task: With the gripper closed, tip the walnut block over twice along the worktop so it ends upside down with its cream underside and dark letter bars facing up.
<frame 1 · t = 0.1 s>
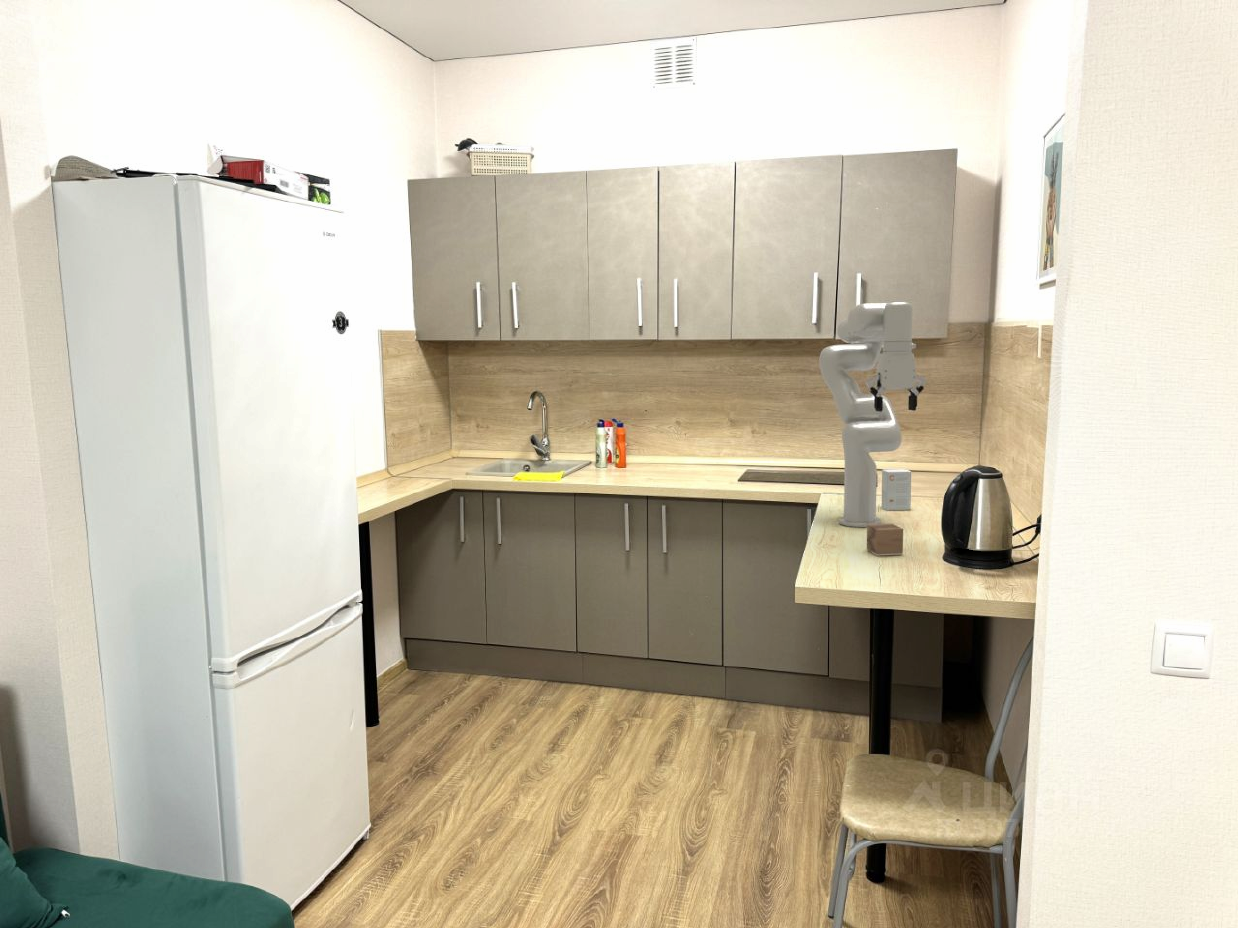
hand: (895, 410, 242), 37 cm above the worktop, tool pointing down, fingers open, 9 cm apart
walnut block: (884, 552, 234), on the worktop
small box: (895, 509, 294), on the worktop
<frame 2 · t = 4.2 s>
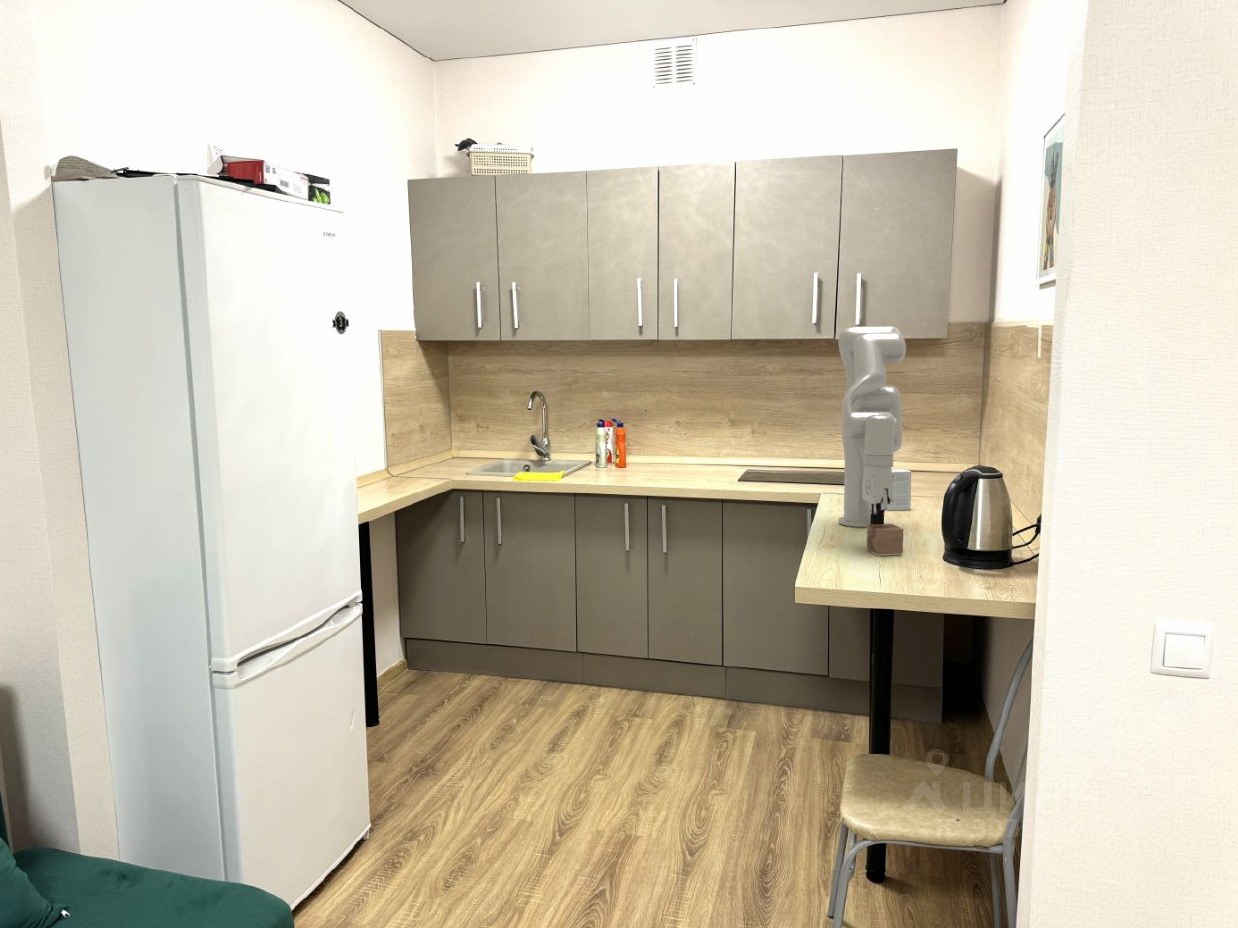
hand: (877, 527, 238), 6 cm above the worktop, tool pointing down, fingers closed
walnut block: (884, 552, 234), on the worktop, touching gripper
everything else where it was.
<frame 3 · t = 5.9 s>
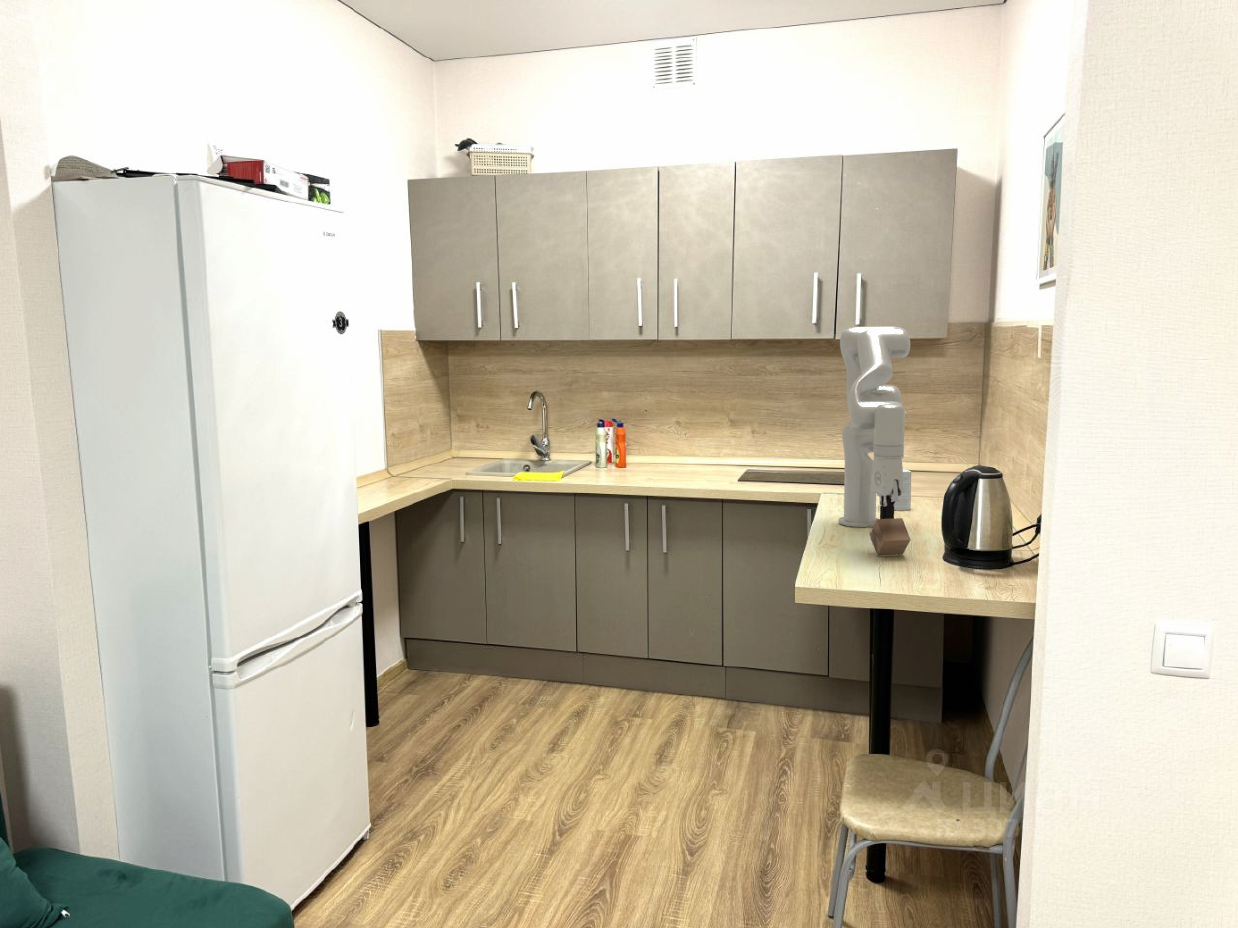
hand: (886, 520, 231), 9 cm above the worktop, tool pointing down, fingers closed
walnut block: (885, 545, 233), point 2 cm above the worktop, tilted 41°
everything else where it was.
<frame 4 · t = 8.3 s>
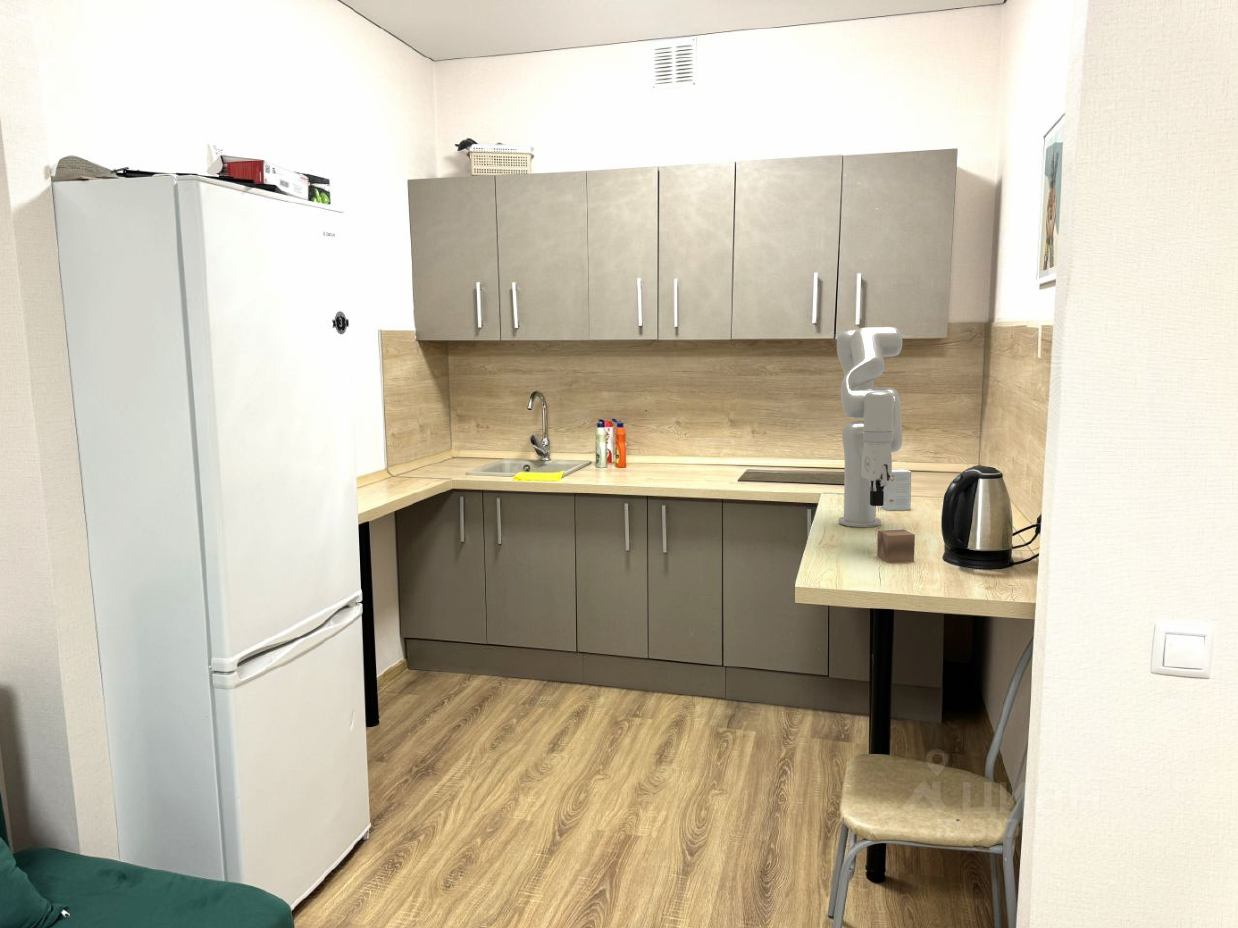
hand: (876, 505, 237), 12 cm above the worktop, tool pointing down, fingers closed
walnut block: (889, 542, 230), point 3 cm above the worktop, tilted 90°
everything else where it was.
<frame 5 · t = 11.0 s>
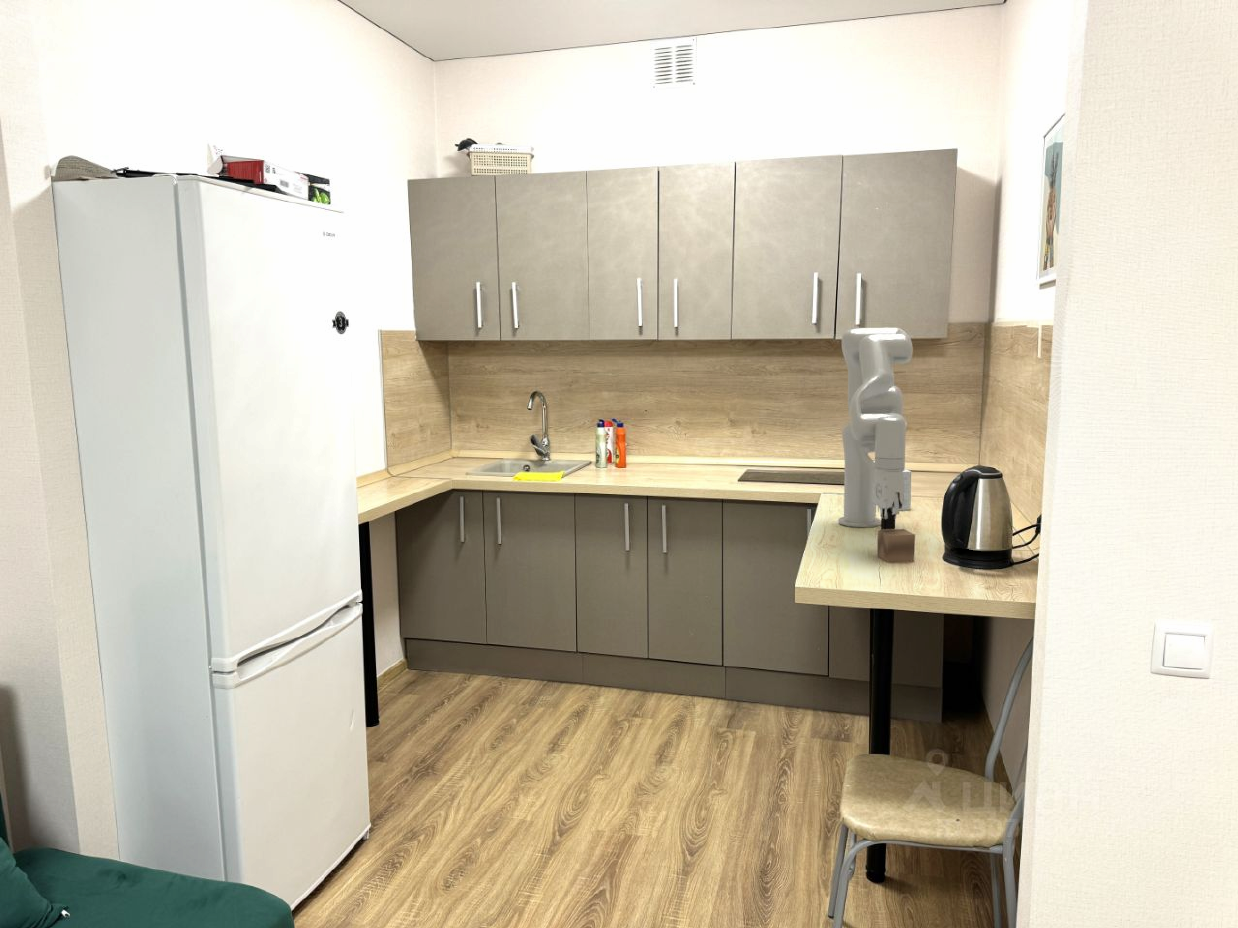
hand: (887, 533, 231), 6 cm above the worktop, tool pointing down, fingers closed
walnut block: (889, 542, 230), point 4 cm above the worktop, tilted 91°, touching gripper
everything else where it was.
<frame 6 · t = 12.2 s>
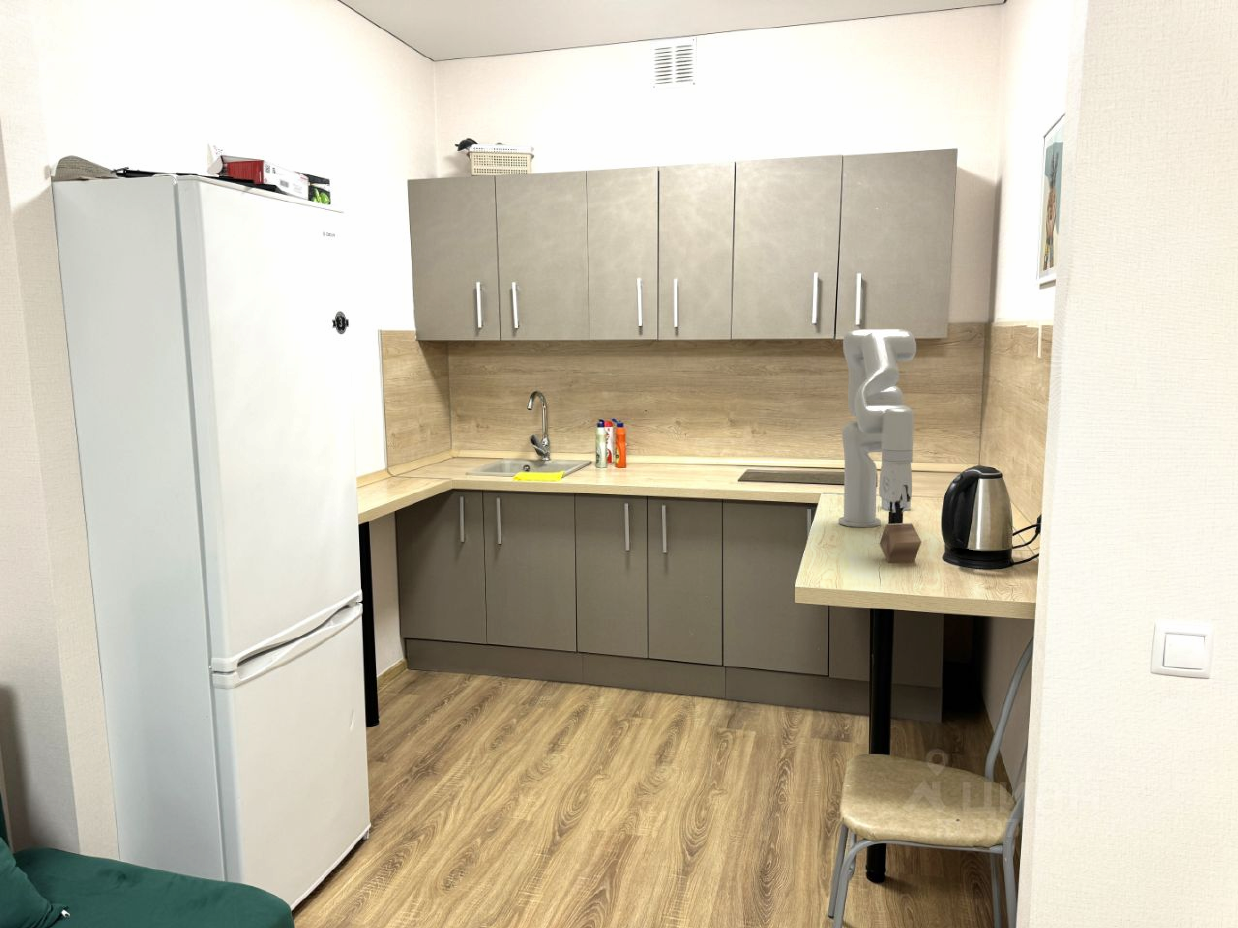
hand: (895, 527, 226), 8 cm above the worktop, tool pointing down, fingers closed
walnut block: (895, 532, 227), point 7 cm above the worktop, tilted 122°, touching gripper
everything else where it was.
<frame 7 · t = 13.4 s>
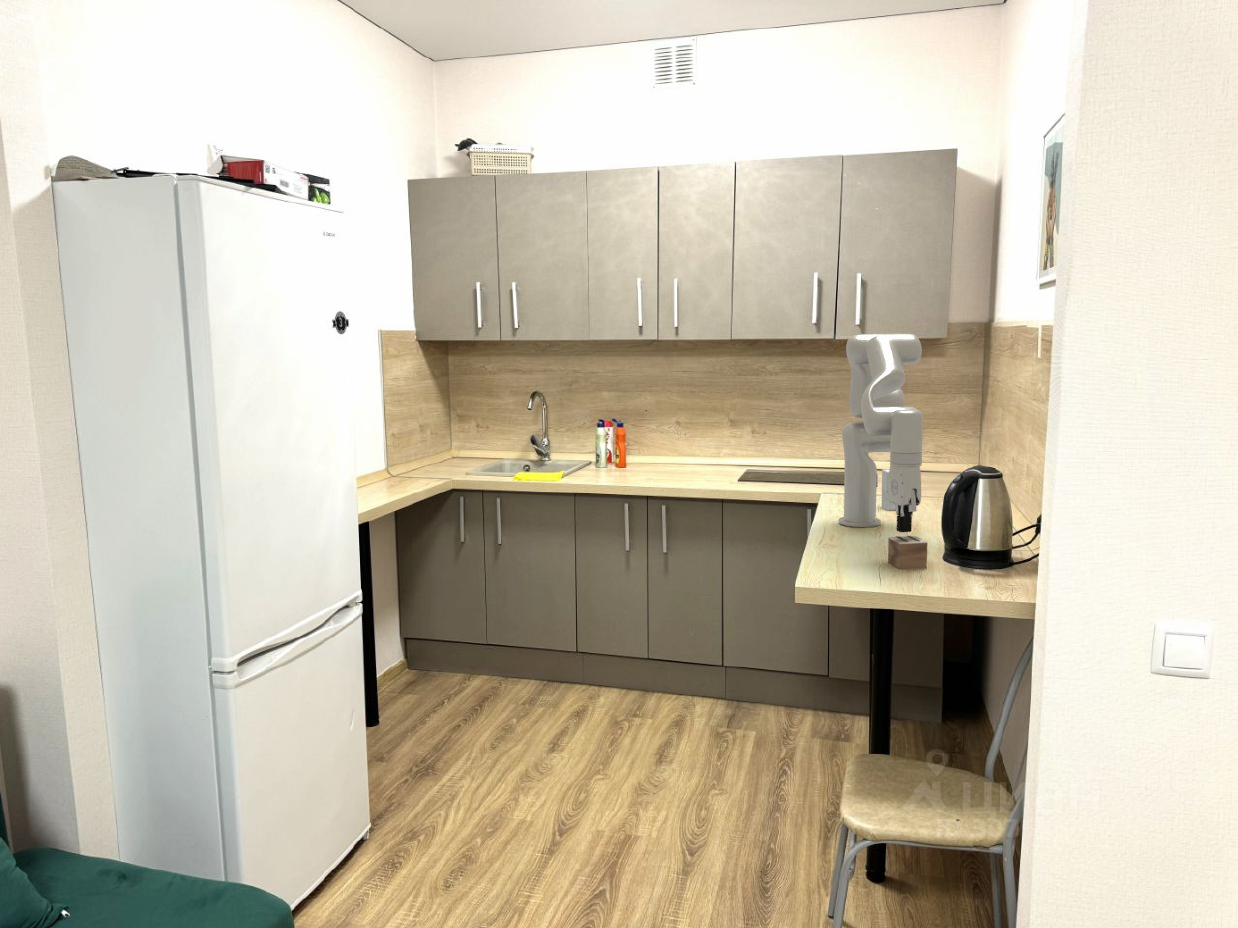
hand: (903, 531, 221), 8 cm above the worktop, tool pointing down, fingers closed
walnut block: (907, 538, 219), point 7 cm above the worktop, tilted 180°
everything else where it was.
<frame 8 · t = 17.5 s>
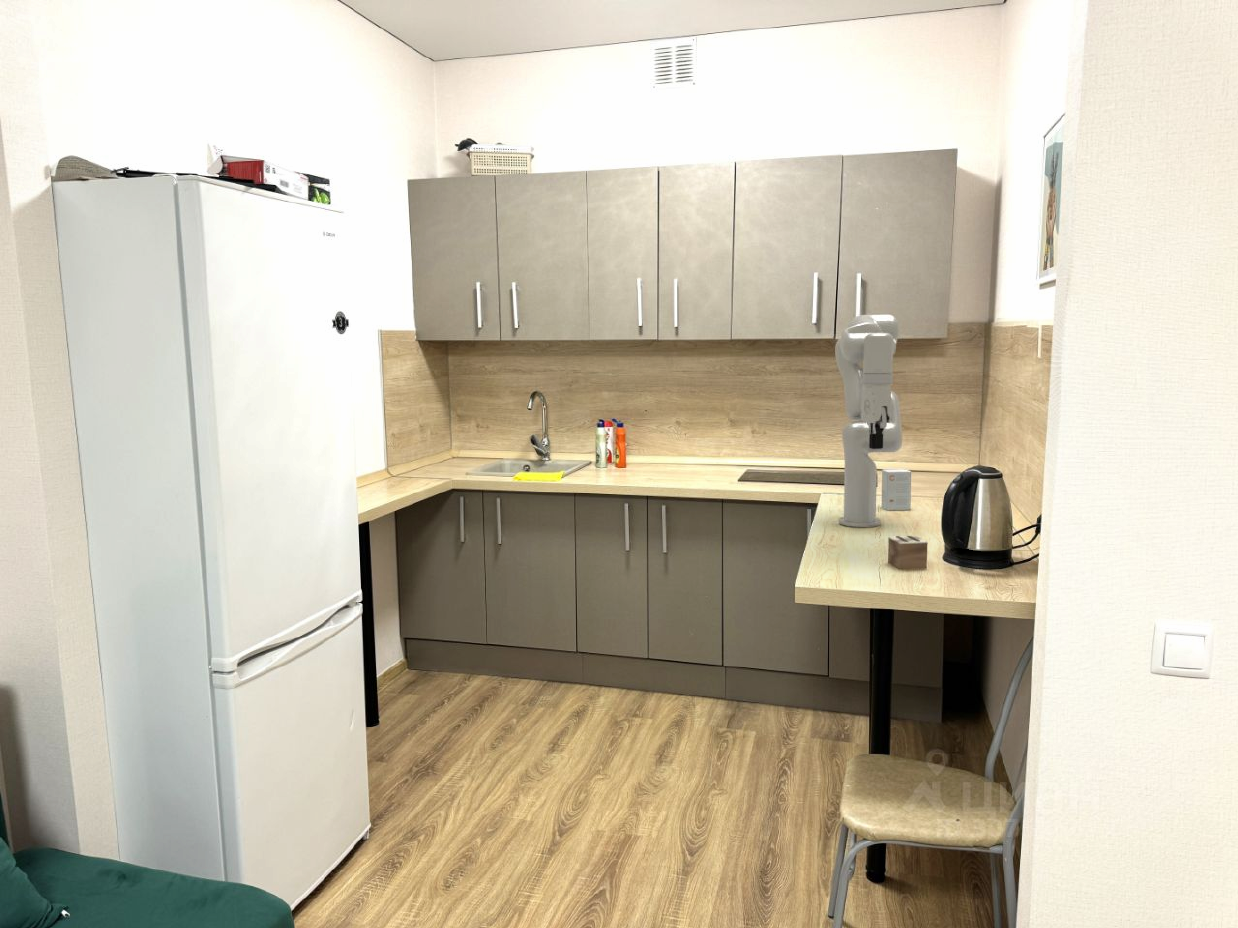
hand: (876, 448, 237), 27 cm above the worktop, tool pointing down, fingers closed
nothing on the worktop moved.
at the end: walnut block tilted 180°; walnut block inside the target area (0.7 cm from its centre), point 6.9 cm above the worktop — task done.
